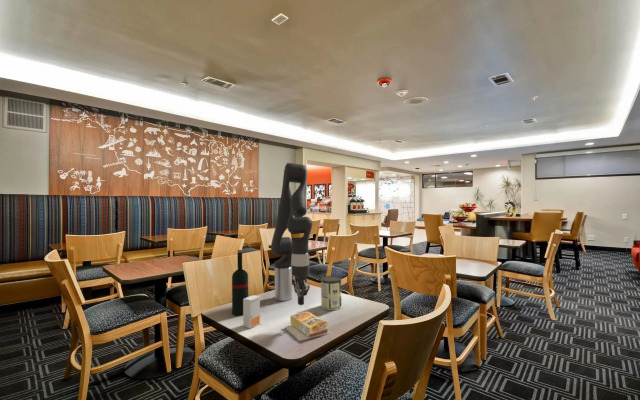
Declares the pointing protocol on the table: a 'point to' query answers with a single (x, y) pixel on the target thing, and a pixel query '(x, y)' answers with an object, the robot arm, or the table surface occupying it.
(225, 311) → the table surface
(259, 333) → the table surface
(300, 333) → the mat
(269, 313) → the table surface
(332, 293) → the coffee can
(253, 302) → the skincare box
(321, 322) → the candy box
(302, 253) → the robot arm
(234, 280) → the wine bottle
